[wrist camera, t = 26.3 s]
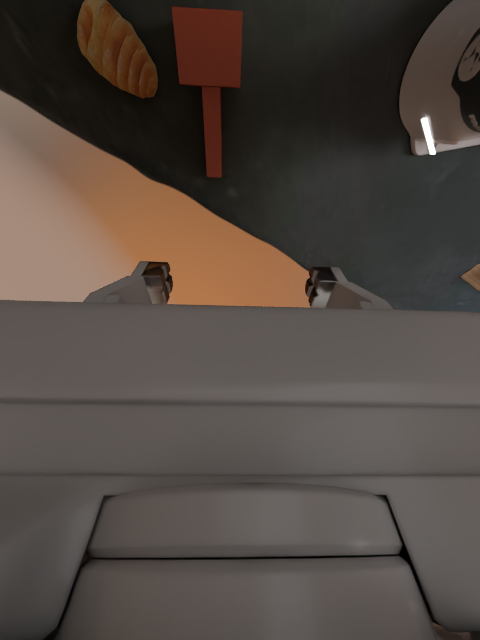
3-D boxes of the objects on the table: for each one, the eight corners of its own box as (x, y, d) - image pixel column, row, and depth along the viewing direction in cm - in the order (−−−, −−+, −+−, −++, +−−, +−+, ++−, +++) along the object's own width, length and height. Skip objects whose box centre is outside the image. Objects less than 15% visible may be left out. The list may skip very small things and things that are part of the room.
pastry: (168, 61, 30) (161, 57, 27) (149, 114, 34) (141, 115, 31) (95, -13, 26) (78, -27, 23) (82, 56, 30) (66, 51, 27)
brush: (241, 20, 28) (242, 11, 25) (237, 175, 39) (237, 180, 37) (177, 16, 28) (171, 6, 25) (192, 173, 39) (189, 178, 36)
